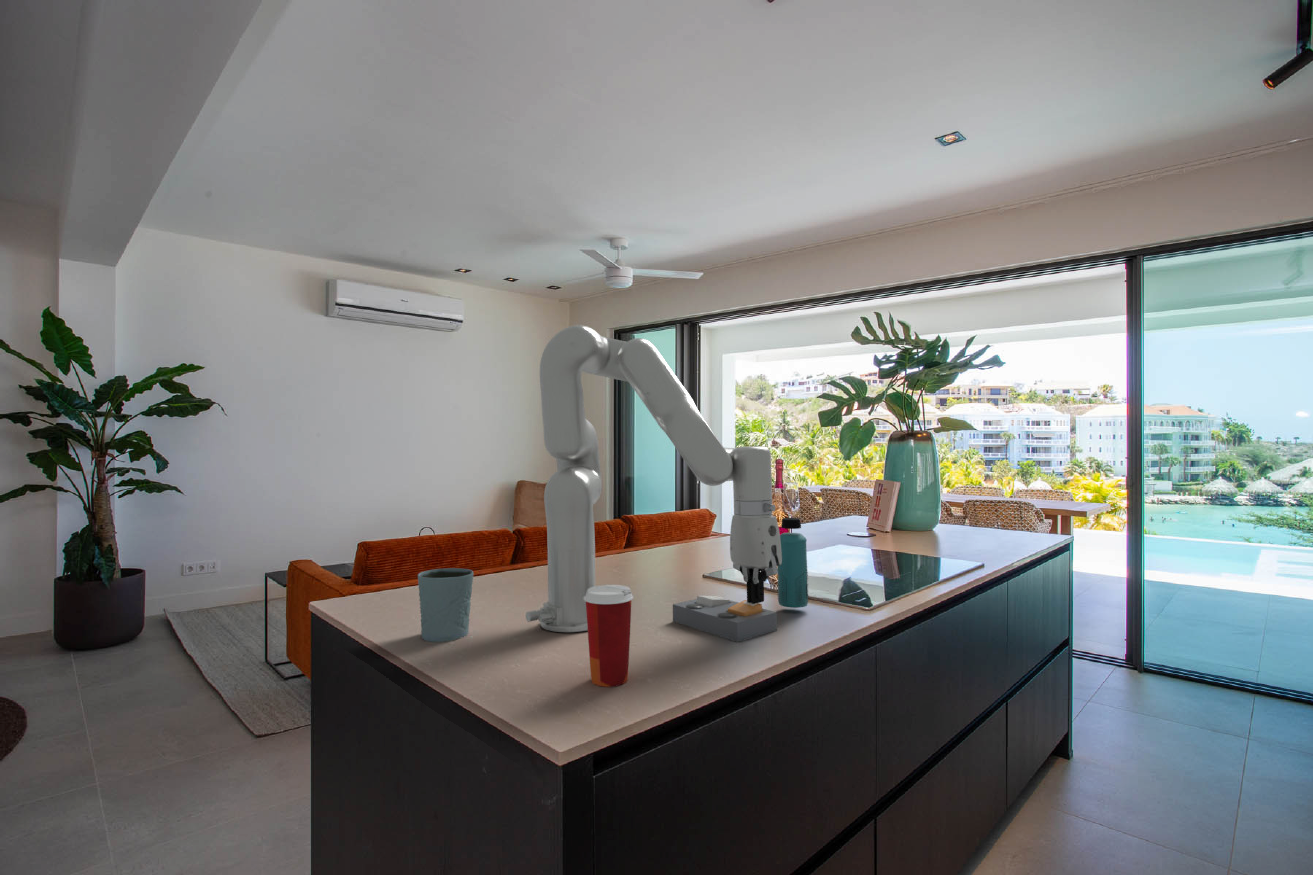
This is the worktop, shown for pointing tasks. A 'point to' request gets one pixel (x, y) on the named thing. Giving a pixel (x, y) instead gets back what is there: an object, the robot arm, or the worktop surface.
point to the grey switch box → (724, 620)
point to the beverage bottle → (793, 567)
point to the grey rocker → (711, 601)
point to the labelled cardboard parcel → (745, 608)
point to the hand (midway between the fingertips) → (755, 601)
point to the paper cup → (609, 633)
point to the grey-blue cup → (445, 603)
